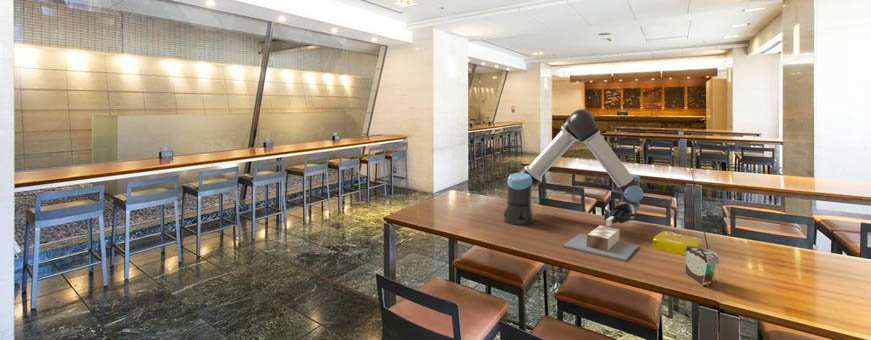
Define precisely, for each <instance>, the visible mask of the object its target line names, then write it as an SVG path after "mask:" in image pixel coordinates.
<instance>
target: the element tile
mask: <svg viewBox="0 0 871 340" xmlns="http://www.w3.org/2000/svg"><path fill="white" fill-rule="evenodd" d="M703 242H704V240H703V238H701V237H695V236H691V235H686V234H682V233H676V232H673V231H667V230H663V231H661V232H660V233H658V234H657V235H655V236H653V238H652V245H651V247H653V248H652V249H654V248H656V249H655V250H658V249H660V250H659V251H662V250H665V251H664V252H666V251H669V252H668V253H671V252H673V253H672V254H675V253H677V254H676V255H679V254H681V255H680V256H684V255H686V251H685V247H686V246H696V247H701V248H703Z"/></svg>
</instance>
